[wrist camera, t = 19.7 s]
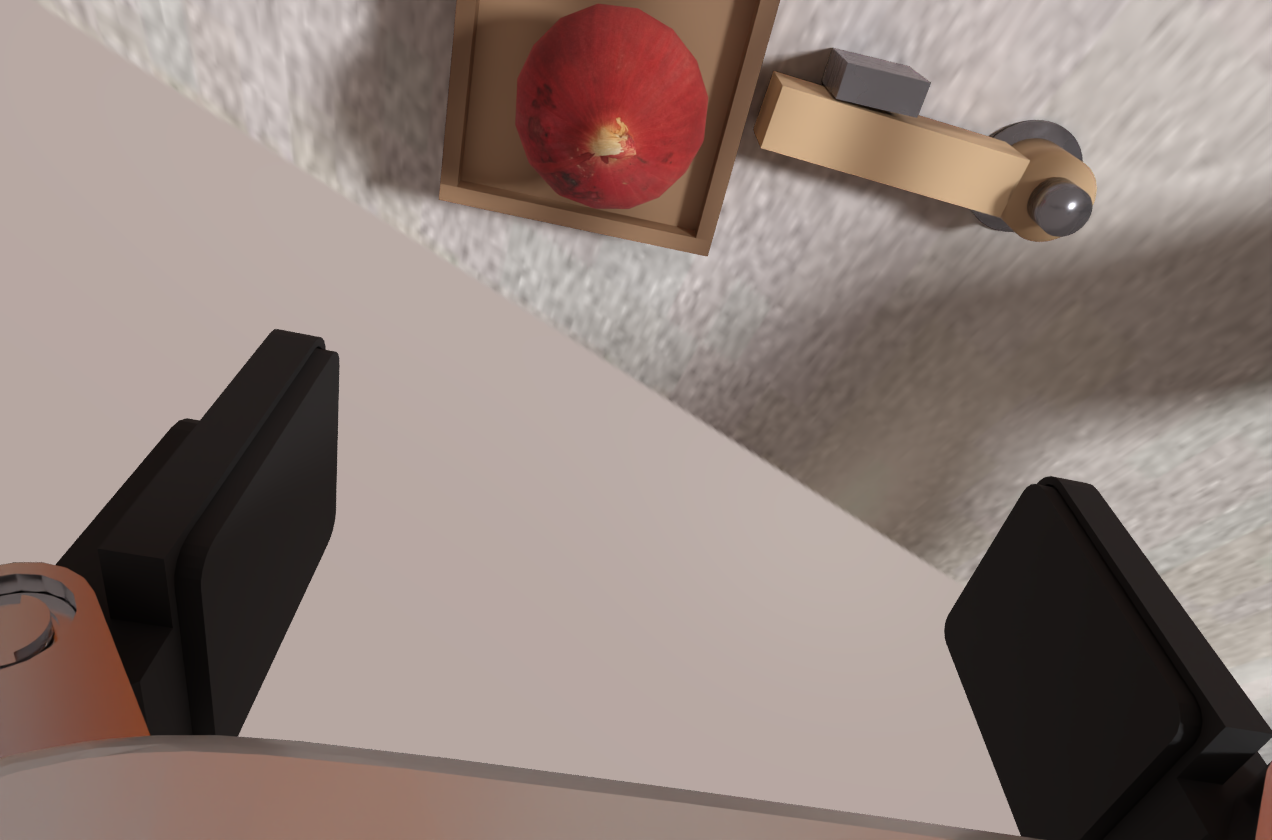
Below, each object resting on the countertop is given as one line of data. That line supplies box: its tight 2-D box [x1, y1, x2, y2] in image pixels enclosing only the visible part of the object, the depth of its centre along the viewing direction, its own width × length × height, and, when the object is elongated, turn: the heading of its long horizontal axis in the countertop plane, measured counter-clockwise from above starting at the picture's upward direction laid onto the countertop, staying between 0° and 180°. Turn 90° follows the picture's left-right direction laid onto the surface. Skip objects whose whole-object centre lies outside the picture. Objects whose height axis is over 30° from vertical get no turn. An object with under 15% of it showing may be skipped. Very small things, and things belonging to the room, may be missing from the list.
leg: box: [753, 71, 1097, 242], centre depth 31 cm, size 13×3×2 cm, turn 74°
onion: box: [515, 4, 708, 209], centre depth 25 cm, size 6×6×8 cm
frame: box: [822, 48, 1092, 237], centre depth 31 cm, size 11×5×4 cm, turn 78°
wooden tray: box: [439, 0, 780, 256], centre depth 29 cm, size 10×10×4 cm
